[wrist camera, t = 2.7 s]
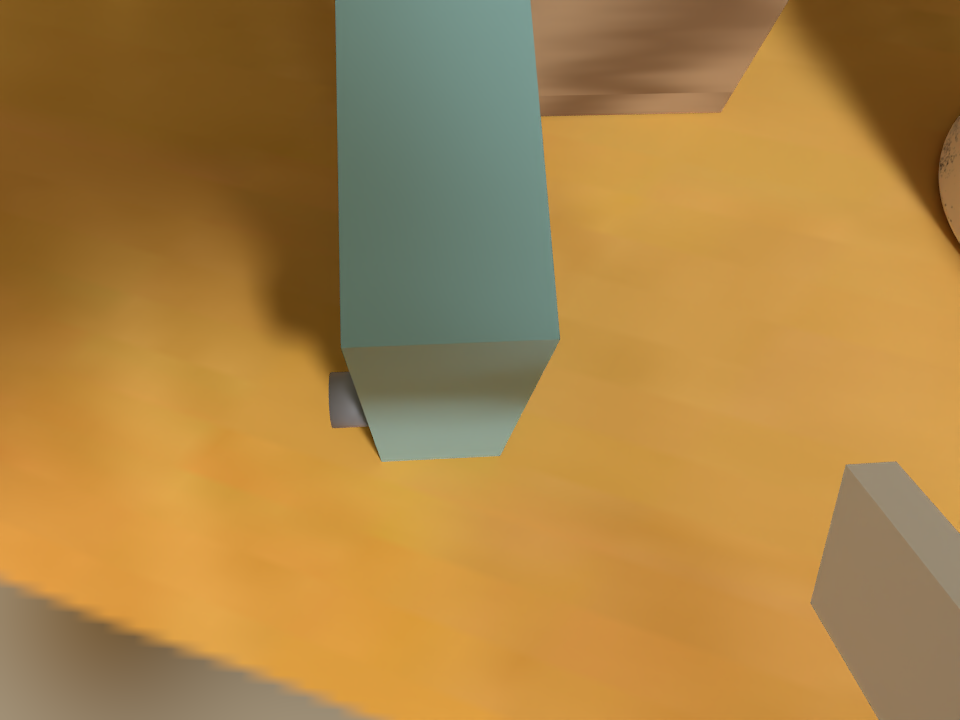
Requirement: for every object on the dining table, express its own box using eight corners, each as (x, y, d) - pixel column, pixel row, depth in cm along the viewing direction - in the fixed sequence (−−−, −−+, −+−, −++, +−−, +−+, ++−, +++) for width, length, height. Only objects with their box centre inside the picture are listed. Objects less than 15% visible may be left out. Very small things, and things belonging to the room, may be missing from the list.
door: (482, 192, 27) (522, -100, 16) (499, 455, 25) (560, 339, 14) (342, 196, 27) (278, -99, 16) (347, 463, 25) (276, 350, 13)
